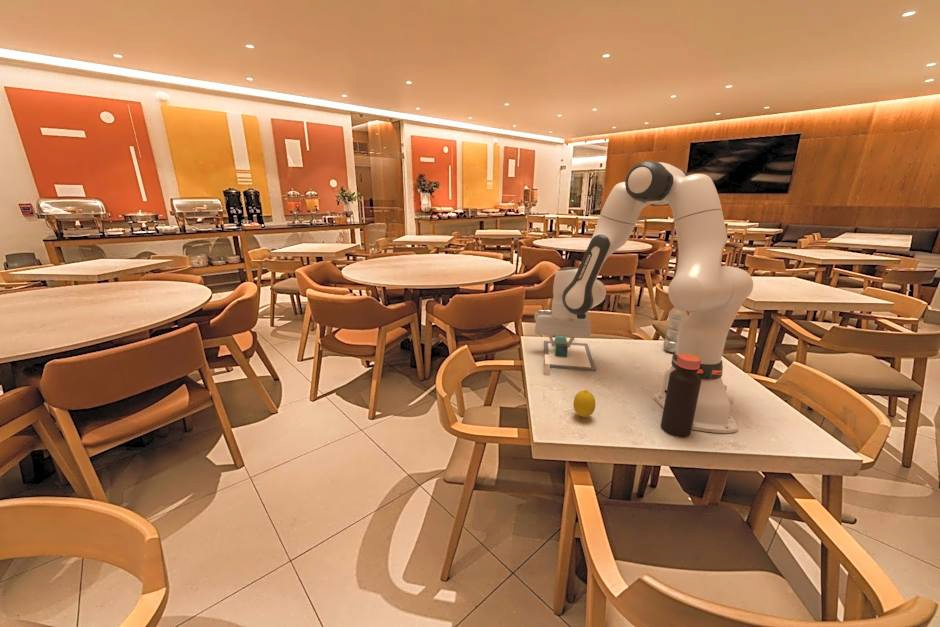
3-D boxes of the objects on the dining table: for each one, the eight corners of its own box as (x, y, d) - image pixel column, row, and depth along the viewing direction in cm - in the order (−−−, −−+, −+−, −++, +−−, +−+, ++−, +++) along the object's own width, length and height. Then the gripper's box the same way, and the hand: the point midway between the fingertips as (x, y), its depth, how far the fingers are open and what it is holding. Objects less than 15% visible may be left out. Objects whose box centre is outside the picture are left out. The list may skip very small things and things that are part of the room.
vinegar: (660, 433, 94) (673, 359, 88) (660, 420, 100) (672, 350, 94) (691, 441, 91) (707, 365, 85) (689, 426, 97) (704, 354, 91)
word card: (549, 375, 124) (550, 364, 123) (544, 374, 124) (545, 363, 123) (548, 365, 132) (549, 354, 131) (543, 364, 132) (544, 354, 131)
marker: (566, 356, 136) (567, 346, 135) (555, 355, 136) (556, 345, 135) (564, 343, 148) (565, 334, 147) (554, 342, 149) (554, 333, 147)
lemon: (570, 411, 103) (572, 385, 101) (590, 411, 103) (593, 385, 100) (574, 422, 98) (577, 395, 95) (596, 423, 98) (599, 395, 95)
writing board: (595, 371, 127) (596, 368, 127) (544, 367, 130) (545, 364, 130) (587, 345, 150) (587, 343, 150) (543, 342, 153) (544, 340, 152)
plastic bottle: (664, 353, 143) (672, 302, 137) (660, 347, 149) (669, 298, 143) (682, 355, 141) (692, 304, 135) (679, 349, 147) (688, 299, 141)
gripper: (534, 311, 135) (532, 347, 139) (593, 315, 132) (589, 351, 136) (534, 307, 141) (532, 341, 145) (591, 310, 138) (587, 345, 142)
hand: (560, 346), depth 141 cm, fingers closed on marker, 4 cm apart
